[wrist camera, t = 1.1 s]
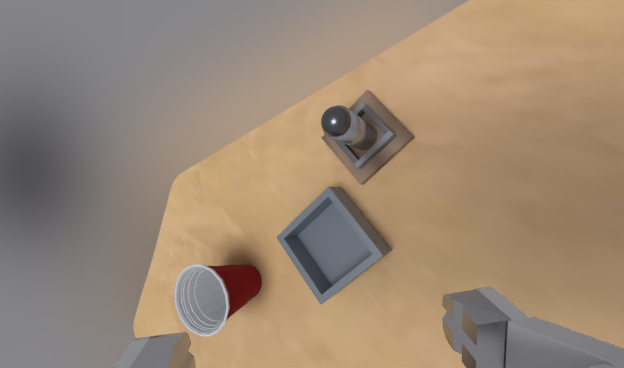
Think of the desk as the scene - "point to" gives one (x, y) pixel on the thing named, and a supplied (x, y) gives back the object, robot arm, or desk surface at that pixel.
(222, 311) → the plastic cup
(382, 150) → the socket plate
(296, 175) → the desk surface
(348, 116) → the strut
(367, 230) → the bin
